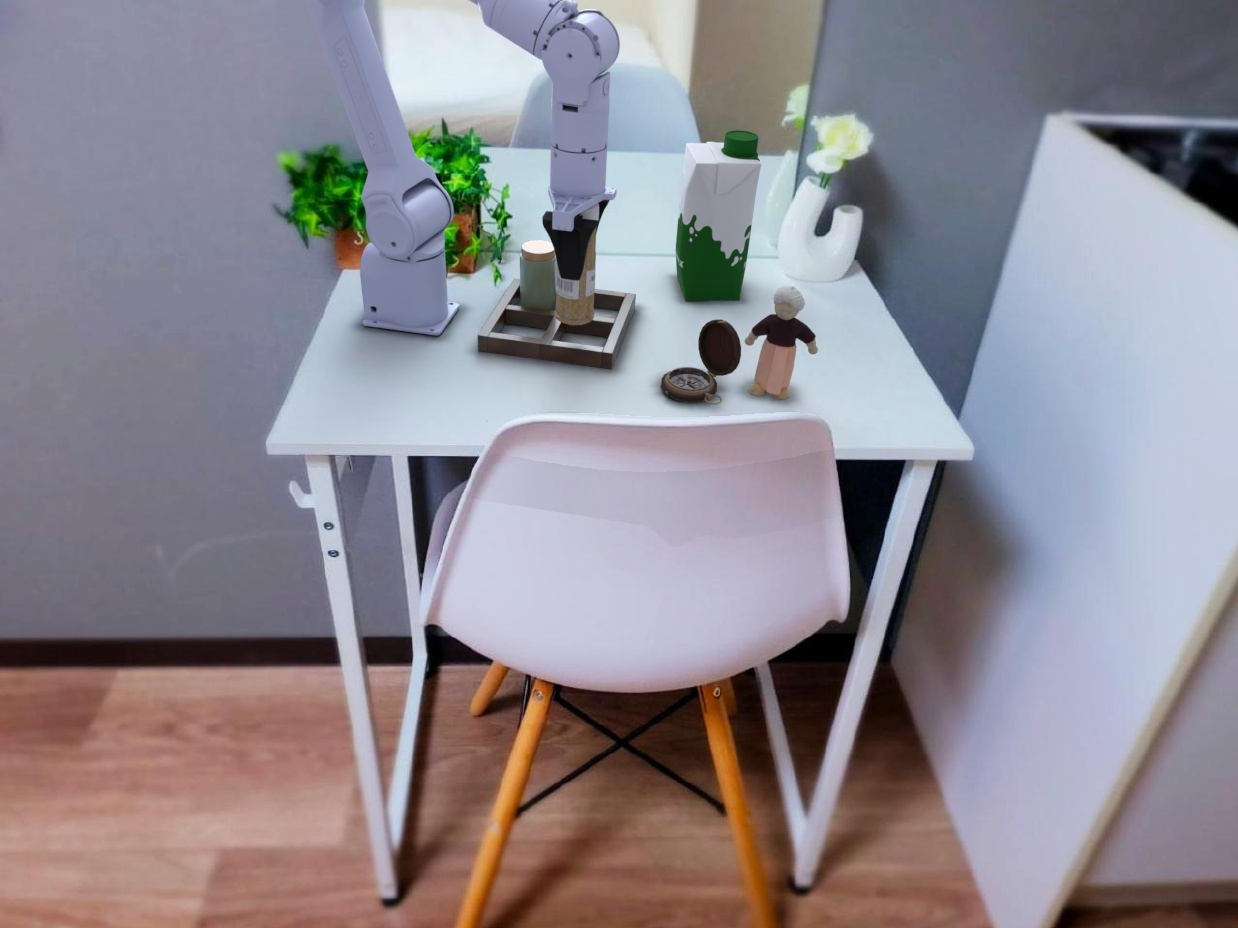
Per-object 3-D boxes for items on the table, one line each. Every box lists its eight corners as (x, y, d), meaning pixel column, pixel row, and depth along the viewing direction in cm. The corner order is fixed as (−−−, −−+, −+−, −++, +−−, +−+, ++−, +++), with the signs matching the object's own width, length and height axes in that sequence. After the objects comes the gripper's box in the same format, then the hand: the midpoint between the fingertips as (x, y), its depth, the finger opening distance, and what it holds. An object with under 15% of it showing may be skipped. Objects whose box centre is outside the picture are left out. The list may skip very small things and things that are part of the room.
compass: (648, 385, 108) (653, 326, 104) (703, 366, 112) (710, 308, 108) (695, 418, 103) (702, 358, 99) (750, 398, 107) (759, 338, 103)
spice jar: (516, 317, 119) (515, 251, 115) (525, 301, 123) (525, 237, 118) (551, 322, 119) (552, 256, 114) (559, 306, 123) (560, 241, 118)
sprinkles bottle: (602, 321, 110) (607, 205, 102) (567, 330, 108) (570, 213, 100) (580, 305, 113) (584, 191, 105) (546, 313, 111) (547, 198, 103)
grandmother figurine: (739, 399, 107) (755, 292, 99) (738, 380, 110) (752, 276, 102) (810, 404, 107) (831, 297, 99) (806, 385, 110) (826, 281, 102)
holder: (477, 350, 112) (477, 335, 111) (514, 292, 125) (514, 278, 124) (611, 369, 110) (612, 353, 109) (635, 308, 123) (636, 293, 122)
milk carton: (748, 304, 126) (769, 147, 114) (678, 304, 125) (693, 146, 113) (734, 274, 133) (753, 124, 121) (668, 274, 132) (680, 123, 120)
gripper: (604, 172, 93) (598, 302, 101) (630, 127, 105) (622, 247, 113) (531, 164, 94) (531, 293, 102) (565, 120, 105) (562, 240, 113)
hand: (575, 269), depth 107 cm, fingers closed on sprinkles bottle, 4 cm apart
